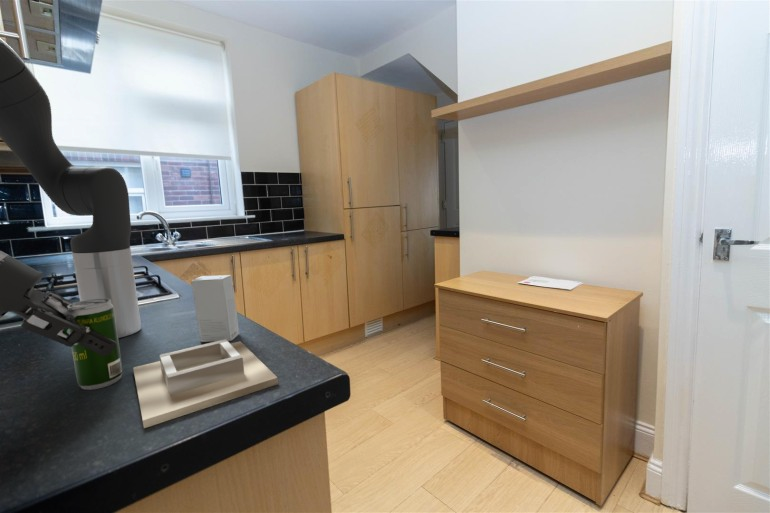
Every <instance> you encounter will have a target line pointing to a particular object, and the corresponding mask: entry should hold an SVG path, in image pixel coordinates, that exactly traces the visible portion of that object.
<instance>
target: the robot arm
mask: <svg viewBox="0 0 770 513" xmlns="http://www.w3.org/2000/svg"><path fill="white" fill-rule="evenodd" d="M32 72H33V71H31V69H29V67H28V66H27V64H26V63H25V62H24V60H23V59H22V58H21V56H20V55H19V54H18V53H17V52H16V51H15V50H14V48H12V47H11V46H10V45H9V44H8V43H7V42H6V41H5V40H3V39H2V38H1V37H0V139H1V140H2V141H3V142H4V143H5V145H6V146H7V147H8V149H10V151H12V153H13V154H14V155H15V156H16V157H17V158H18V160H20V162H21V163H22V164H23V165H24V167H25V168H26V169H27V171H28V172H29V174H31V177H33V179H34V180H35V182H37V184H38V185H39V186H40V188H41V189H42V190H43V191H44V193H45V194H46V195H47V197H48V198H49V200H51V202H52V203H54V205H55V206H56V207H57V208H58V209H60V210H61V212H64V213H66V214H68V215H71V216H81V217H84V216H85V217H86V216H92V225H91V226H89V228H88V229H87V230H86V231H84V232H82V233H79V234H77V235H75V236H72V238H71V239H70V249H71V254H72V255H71V256H72V262H73V267H74V272H75V273H74V274H75V278H76V285H77V290H78V298H79V302H80V301H86V300H92V299H110V300H111V302H110V303H111V304H112V305H113V307H114V314H115V320H116V327H117V334H118V339H120V338H125V337H128V336H130V335H133V334H135V333H138V332H140V331H141V329H142V325H141V324H142V323H141V322H142V321H141V316H140V309H139V308H140V307H139V300H138V293H137V287H136V279H135V271H134V263H133V256H132V250H131V244H130V243H131V242H130V240H131V235H132V224H131V223H132V222H131V212H130V211H131V210H130V209H131V208H130V198H129V191H128V186H127V183H126V181H125V178H124V176H123V175H122V173H121V172H119V171H118V170H117V169H115V168H114V167H110V166H78V167H77V166H75V165H73V164H72V163H71V162H70V161H69V160H68V159H67V158H66V156H65V154H63V153H62V151H61V150H60V149H59V147H58V145H57V143H56V141H55V140H54V137H53V122H52V121H53V120H52V118H53V117H52V106H51V102H50V99H49V96H48V94H47V91H45V89H44V88H43V86H42V85H41V83H40V82H39V81H38V79H37V78H36V77H35V75H34V74H33V73H32ZM43 277H44V276H43V273H42V272H40V271H38V270H36V269H34V268H33V267H31V266H30V265H27V264H26V263H24V262H22V261H20V260H18V259H16V258H15V257H13V256H11V255H9V254H7V253H5V252H4V251H2V250H0V319H2V318H3V317H4V316H5V315H6V314H8V313H9V312H12V313H13V314H16V315H17V316H19V317H20V318H22V319H23V321H22V322H23V323H21V324H20V325H21V326H20V327H22V328H23V330H26V331H30V332H32V333H35V334H37V335H40V336H42V337H44V338H47V339H49V340H52V341H55V342H57V343H60V344H62V345H64V346H66V347H69V348H71V347H72V346H73V345H78V344H79V345H81V346H83V347H85V348H88V349H90V350H92V351H94V352H96V353H98V354H100V355H102V356H107V355H109V354H110V353H111V351H112V350H113V349H114V348H115V347H116V342H115V341H114V340H112V339H110V338H108V337H106V336H104V335H102V334H100V333H98V332H96V331H94V330H92V329H91V328H90V327H89V326H86V325H84V324H83V323H81V322H79V321H78V316H77V315H76V314H74V313H73V312H71V311H70V310H68V309H67V306H68V305H70V304H73V303H74V302H73V301H70V300H68V299H66V298H65V297H63V296H62V295H60V294H58V293H57V292H56V291H54V290H49V291H48V292H47V293H45V292H42V291H40V290H38V289H35V288H34V287H35V286H36V285H37V284H39V282H40V281H41V280H42V278H43ZM68 329H71V330H73V331H72V332H71V333H70V334H69V332H68V331H69V330H68Z"/></svg>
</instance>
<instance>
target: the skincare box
mask: <svg viewBox="0 0 770 513" xmlns="http://www.w3.org/2000/svg"><path fill="white" fill-rule="evenodd" d="M190 283H191V287H192V288H191V289H192V295H193V302H194V308H195V315H196V316H195V317H196V321H197V327H198V334H199V335H198V336H199V341H200V343H207V342H208V343H212V342H216V341H220V340H225V339H226V340H227V341H228V342H232V341H234V339H235V338H236V337H238V336H239V335H240V329H239V320H238V319H239V318H238V313H237V307H236V306H237V305H236V304H237V303H236V298H235V297H236V296H235V288H234V282H233V275H232V274H224V275H222V274H220V275H219V274H218V275H201V276H199V277H196V278H194V279H191V282H190Z"/></svg>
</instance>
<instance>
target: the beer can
mask: <svg viewBox="0 0 770 513" xmlns="http://www.w3.org/2000/svg"><path fill="white" fill-rule="evenodd" d="M110 302H111V300H110V299H92V300H86V301H80V300H79V301H77V302H72V303H73V304H70V305H68V306H67V309H68V310H70V311H71V312H73V313H74V314H76V315H77V316H78V321H79V322H81V323H83V324H84V325H86V326H89V327H90V328H91V329H92V330H94V331H96V332H98V333H100V334H102V335H104V336H106V337H108V338H110V339H112V340H114V341H115V342H116V347H115V348H114V349H113V350H112V351H111V353H110V354H109V355H107V356H102V355H100V354H98V353H96V352H94V351H92V350H90V349H88V348H85V347H83V346H81V345H79V344H78V345H73V346H72V347H70V348H71V353H72V360H73V365H74V371H75V377H76V383H77V385H78V386H79V387H80V388H81V389H82V390H86V391H92V390H98V389H102V388H106V387H108V386H111V385H113V384H116V383H117V382H119V381H120V379H122V376H123V372H124V370H123V362H122V355H121V349H120V343H119V342H120V341H119V338H118V334H117V327H116V320H115V314H114V307H113V305H112V304H111V303H110ZM67 331H68V334H70V333H71V332H72V331H73V330H71V329H68V330H67Z"/></svg>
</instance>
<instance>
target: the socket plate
mask: <svg viewBox="0 0 770 513" xmlns="http://www.w3.org/2000/svg"><path fill="white" fill-rule="evenodd" d="M158 355H159V360H158V361H154V362H150V363H146V364H142V365H138V366H134V367H133V368H132V369H133V375H134V379H135V386H136V392H137V397H138V403H139V409H140V414H141V421H142V426H143V429H146V428H149V427H152V426H156V425H158V424H162V423H164V422H167V421H170V420H171V421H172V420H173V419H177V418H179V417H182V416H185V415H188V414H192V413H194V412H199V411H202V410H204V409H206V408H210V407H214V406H216V405H219V404H222V403H225V402H228V401H230V400H234V399H237V398H240V397H243V396H247V395H249V394H252V393H255V392H257V391H258V392H259V391H261V390H264V389H265V390H266V388H270V387H274V386H276V385H279V380H278V376H276V375H275V373H274V372H272V371H271V370H270V369H269V367H267V366H266V364H264V363H263V362H262V361H261V360H260V358H258V357H257V356H256V355H255V354H254V353H253V352H252V351H251V350H250V349H249V348H248V347H247V346H246V345H245V344H244V343H242V341H241V340H240V341H235V342H231V343H230V341H227V340H226V339H225V340H220V341H215V342H208V343H204V344H199V345H195V346H192V347H191V346H190V347H187V348H183V349H180V350H175V351H170V352H166V353H161V354H158Z"/></svg>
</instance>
